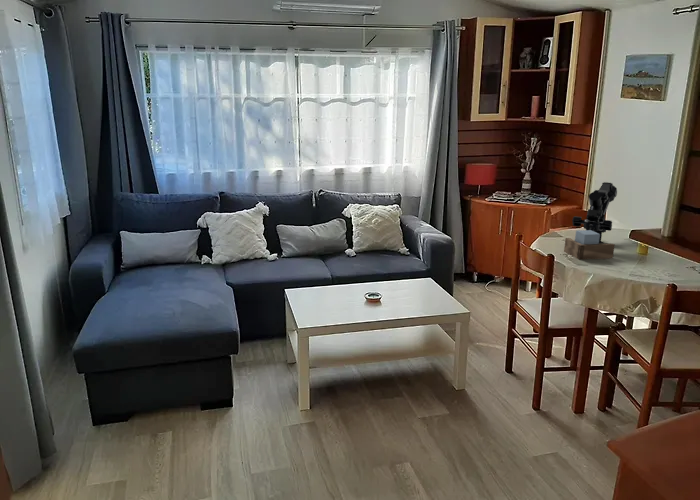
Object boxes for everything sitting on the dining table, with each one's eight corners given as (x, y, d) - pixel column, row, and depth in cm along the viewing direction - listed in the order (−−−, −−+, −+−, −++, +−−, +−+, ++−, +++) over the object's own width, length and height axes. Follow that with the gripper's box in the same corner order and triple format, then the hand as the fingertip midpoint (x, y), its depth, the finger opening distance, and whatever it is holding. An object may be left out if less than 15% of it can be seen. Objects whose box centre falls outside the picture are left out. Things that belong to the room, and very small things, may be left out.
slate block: (573, 253, 283) (576, 230, 279) (587, 253, 284) (590, 230, 281) (581, 258, 275) (584, 234, 272) (596, 257, 276) (600, 234, 273)
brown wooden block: (563, 251, 286) (565, 238, 284) (596, 250, 289) (598, 237, 287) (578, 259, 273) (580, 245, 271) (612, 258, 276) (614, 244, 274)
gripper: (575, 201, 290) (568, 226, 284) (614, 205, 280) (608, 231, 274) (576, 213, 298) (569, 237, 292) (614, 217, 289) (608, 243, 283)
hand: (588, 237), depth 285 cm, fingers closed
